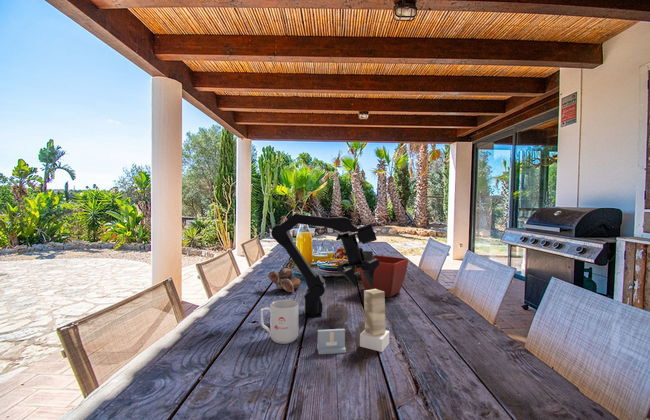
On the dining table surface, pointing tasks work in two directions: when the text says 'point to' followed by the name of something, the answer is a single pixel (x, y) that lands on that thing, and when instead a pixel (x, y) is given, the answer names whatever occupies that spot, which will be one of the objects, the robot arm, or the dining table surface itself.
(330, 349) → the plaque
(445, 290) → the dining table surface
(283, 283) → the brown lumpy cluster
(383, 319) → the maple pillar
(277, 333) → the mug
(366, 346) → the white slab
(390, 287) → the plant pot
